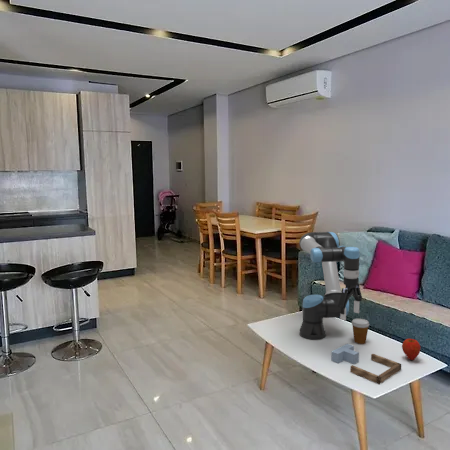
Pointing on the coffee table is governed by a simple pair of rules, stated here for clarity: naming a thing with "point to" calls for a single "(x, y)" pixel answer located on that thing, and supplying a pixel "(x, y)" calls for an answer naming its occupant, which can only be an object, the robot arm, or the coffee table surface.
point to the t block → (345, 354)
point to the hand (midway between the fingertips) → (349, 316)
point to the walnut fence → (382, 377)
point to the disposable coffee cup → (360, 330)
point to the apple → (411, 348)
